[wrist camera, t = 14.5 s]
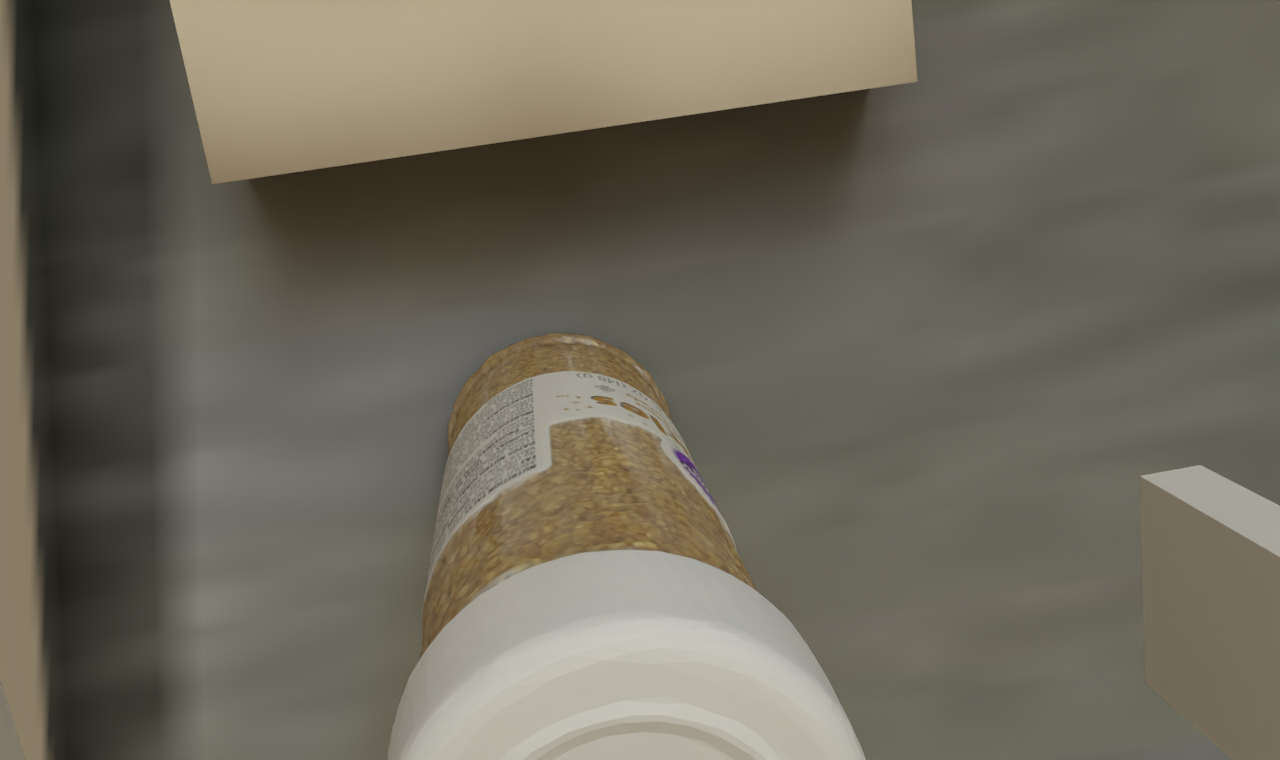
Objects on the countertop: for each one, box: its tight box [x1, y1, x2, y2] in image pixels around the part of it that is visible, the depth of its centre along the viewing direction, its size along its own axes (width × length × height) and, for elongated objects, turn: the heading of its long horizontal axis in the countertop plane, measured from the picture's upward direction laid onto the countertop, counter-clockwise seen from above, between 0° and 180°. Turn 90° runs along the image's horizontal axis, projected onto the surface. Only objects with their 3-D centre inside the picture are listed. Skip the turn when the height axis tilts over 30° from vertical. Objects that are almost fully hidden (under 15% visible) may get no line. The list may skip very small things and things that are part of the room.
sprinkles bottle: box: [387, 333, 866, 760], centre depth 16 cm, size 5×5×13 cm
